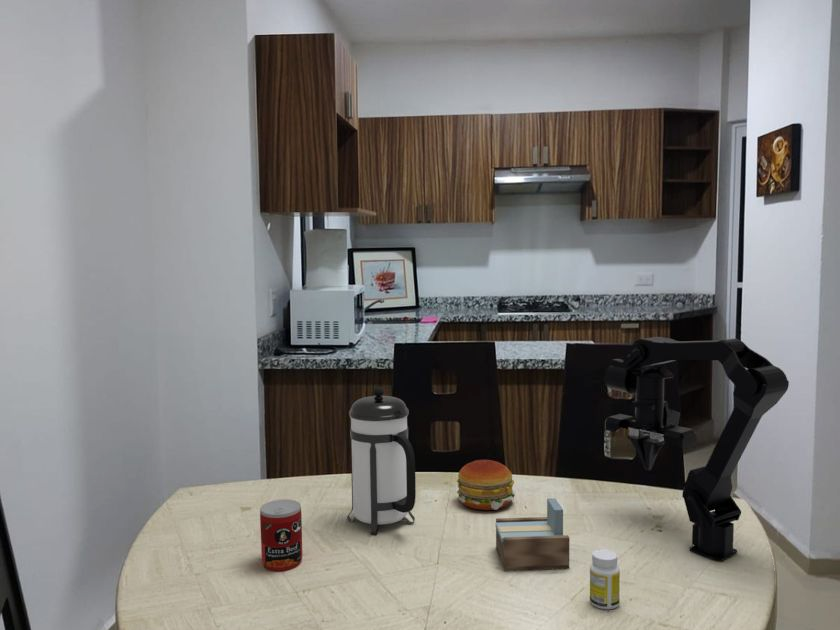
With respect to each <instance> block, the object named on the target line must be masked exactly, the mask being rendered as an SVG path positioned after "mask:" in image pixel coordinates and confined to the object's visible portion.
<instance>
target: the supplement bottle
mask: <svg viewBox="0 0 840 630" xmlns="http://www.w3.org/2000/svg"><path fill="white" fill-rule="evenodd" d="M591 554H592V556H591V561H592V562H591V564H590V565H589V601H590V603H591V604H592V605H593V606H594V607H596V608H598V609H601V610H613V609H616V608H618V607H619V605H620V588H621V587H620V578H621V577H620V575H621V574H620V572H621V571H620V567H619V565H618V555H617V553H616V552H614V551H613V550H610V549H603V548H600V549H596V550H594V551H592V553H591Z"/></svg>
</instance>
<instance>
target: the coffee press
mask: <svg viewBox="0 0 840 630" xmlns="http://www.w3.org/2000/svg"><path fill="white" fill-rule="evenodd" d="M372 392H373V394H374V395H372V396H370V395H369V396H365V397H362V398H359V399H357V400H356V401H354V403H353V404H352V405H351V408H350V410H349V411H348V415H349V418H350V427H349V430H350V431H349V432H350V433H349V434H350V435H349V436H350V462H351V465H350V466H351V467H350V469H351V511H350V512H349V514H348V515H347V518H346V520H347V521H348V522H350V523H351V522H353V521H355V520H356V519H357V520H358V521H360V522H362V523H365V524H367V525H368V524H369V525H370V529H369V533H370V535H373V536H377V535H378V534H379V527H380V526H381V525H389V524H393V523H397V522H399V521H401V520H403V521H405V522H406V523H407V524H408V525H413V524H414V523H415V521H416V518H415V516H414V515H413V513H412V510H413V509H414V507H415V504H416V487H417V486H416V483H417V482H416V460H415V459H416V458H415V453H414V448H413V445H412V443H411V441H410V440H409V426H408V416H409V414H410V413H409V411H410V410H409V408H408V407H407V406H406V403H405V402H404V401H403V400H402V399H401V398H398V397H395V396H391V395H390V396H389V395H384V393H385V390H384V388H383V386H382V387H381V386H375V387H374V388H373V390H372ZM352 512H353V515H354V517H353V518H351V517H350V515H351V514H352ZM407 515H409V517H410V518H411V519H412V521H410V520H409V519H408V518H407V517H406V516H407Z"/></svg>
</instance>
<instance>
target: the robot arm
mask: <svg viewBox="0 0 840 630" xmlns="http://www.w3.org/2000/svg"><path fill="white" fill-rule="evenodd" d="M610 361H611V364H610V365H609V366H608V367H607V369H606V371H605V374H604V376H603V378H604V379H603V380H604V384H605V386H606V387H607V388H608V389H610V390H614V391H618V392H622V393H623V392H624V393H628V394H633V393H634V394H635V395H634V397H635V398H634V400H633V401H631V404H630V405H631V407H632V408H635V409H634V416H633V415H628V414H627V415H626V414H622V413H618V414H614V415H611V416H607V417H606V419H605V422H604V430H605V431H609V432H613V433H618V431H620V429H625V430H629V431H628V435H626V439H627V440H629V441H630V442H631V444H632V445H633V448H634V449H635V452H636V453H637V455H638V457H639V459H640V461H641V463H642V465H643V468H644V470H647V471H650V470H652V469H653V467H654V465H655V464H654V463H655V461H656V459H657V457H658V454H659V452H660V450H661V448H662V447H663V445H664V444H666V445H668V446H672V447H676V448H685V447H688V446H691V445H693V444H696V443H697V442H698V441H697V439H698V437H697V435H698V434H697V432H695V430H694V428H689V427H684V426H679V421H680V416H681V412H679V411H676V410H675V409H671V408H669V404H668V401H665V380H666V379H671V378H674V376H675V375H674V374H673V373H672V372H671V371H670V370H669V369H668V367H667V366H666V365H663V364H667V363H671V362H675V361H676V362H677V361H718V362H719V364H721V365H722V368H723V370H724V372H725V374H726V377H727V379H729V380H730V381H731V382H732V384H734V388H733V392H732V396H733V403H734V406H733V409H732V411H731V414H730V416H729V417H728V419H727V421H726V423H725V426H724V428H723V430H722V431H721V434H720V436H719V437H718V440H717V442H716V444H715V446H714V448H713V450H712V452H711V454H710V456H709V458H708V460H707V462H706V464H705V466H701V467H697V468H693V469H690V470H689V472H688V474H687V477H686V480H685V481H684V483H683V484H681V487H682V488H683V489H682V496H681V497H682V498H683V500H684V505H685V508H686V513H687V515H688V519H689V521H690V523H693V524H692V531H691V532H692V534H691V536H692V537H691V539H692V540H691V544H692V546H690V547H689V551H690V552H693V553H695V554H698V555H701V556H704V557H706V558H710V559H713V560H714V561H717V562H722V561H724V560H726V559H728V558H730V557H732V556H734V555H736V554H737V553H738V549H736V548H734V533H735V532H734V531H735V530H734V529H735V527H734V521H739V519H740V516H741V515H742V509H740V507H739V505H738V504H737V503H736V502H735V500H734V499H733V497H732V496H731V494H732V491H733V482H732V481H733V480H732V475H733V474H734V471H735V469H736V467H737V465H738V463H739V462H740V460H741V458H742V456H743V454H744V452H745V450H746V448H747V446H748V444H749V442H750V440H751V438H752V436H753V435H754V433H755V430H756V429H757V427H758V424H759V422H760V421H761V420H762V417H763V416H764V415H765V414H766V413H768V412H769V411H770V410H771V409H772V408H774V406H776V405H777V404H778V403H779V401H780V400H781V399H782V398H783V397H784V396H785V395H786V392H787V391H788V389H789V386H790V385H789V384H790V382H789V379H788V377H787V375H786V374H785V372H784V371H783V369H781V368H780V367H777V366H776V365H774V364H773V363H772V362H771V361H769V359H767V358H766V357H764V356H762V355H761V354H760V353H758V352H756V351H754V350H753V349H751V348H750V347H749V346H748V345H747V344H746V343H744V341H742V340H740V339H738V338H730V339H729V338H728V339H727V338H726V339H719V340H690V341H689V340H688V341H679V340H675V339H673V338H668V337H663V336H653V337H647V338H646V337H644V338H637V339H634V341H633V343H632V345H631V348H630V350H629V351H628V353H627V355H626V356H625V357H624V359H621V358H615V359H614V358H613V359H611V360H610ZM661 364H662V366H657V368H656V367H655V368H654V366H656V365H661ZM670 426H672V427H671V428H666V427H670Z"/></svg>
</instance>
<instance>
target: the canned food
mask: <svg viewBox="0 0 840 630" xmlns="http://www.w3.org/2000/svg"><path fill="white" fill-rule="evenodd" d="M301 505H302V504H301V502H299V501H297V500H294V499H287V498H285V499H283V498H282V499H274V500H271V501H268V502H266V503H264V504H262V505H261V506H260V508H259V509H260V510H259V515H260V516H259V522H260V523H259V524H260V527H259V528H260V543H261V544H260V545H261V546H260V549H261V562H262V565H263V567H264V568H265V569H266V570H268V571H272V572H283V571H284V572H286V571H289V570H293V569H294V568H297V567H298V566H299V565H300V564H301V563H302V560H303V555H304V554H303V529H302V528H303V527H302V526H303V523H302V522H303V521H302V506H301Z"/></svg>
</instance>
